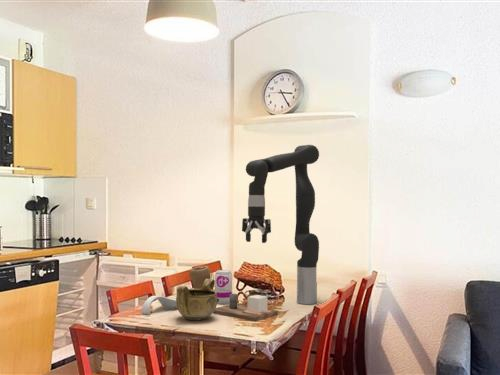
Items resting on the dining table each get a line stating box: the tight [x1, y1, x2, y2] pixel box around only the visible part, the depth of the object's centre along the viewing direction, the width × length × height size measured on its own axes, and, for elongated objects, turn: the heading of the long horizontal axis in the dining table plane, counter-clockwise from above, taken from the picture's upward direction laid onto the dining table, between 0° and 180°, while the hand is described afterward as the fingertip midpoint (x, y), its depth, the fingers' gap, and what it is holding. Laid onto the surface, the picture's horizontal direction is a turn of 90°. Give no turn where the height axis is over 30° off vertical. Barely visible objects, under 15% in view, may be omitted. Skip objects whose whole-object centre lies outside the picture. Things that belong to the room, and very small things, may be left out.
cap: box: [246, 294, 268, 313], centre depth 221 cm, size 6×6×6 cm
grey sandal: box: [140, 295, 178, 316], centre depth 231 cm, size 24×12×7 cm, turn 149°
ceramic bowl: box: [175, 278, 218, 321], centre depth 215 cm, size 22×17×15 cm
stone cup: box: [189, 265, 215, 291], centre depth 264 cm, size 15×12×15 cm
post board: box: [212, 293, 279, 322], centre depth 225 cm, size 16×24×8 cm, turn 53°
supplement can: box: [214, 269, 233, 305], centre depth 248 cm, size 8×8×15 cm
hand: (256, 242), depth 232 cm, fingers open, 8 cm apart
